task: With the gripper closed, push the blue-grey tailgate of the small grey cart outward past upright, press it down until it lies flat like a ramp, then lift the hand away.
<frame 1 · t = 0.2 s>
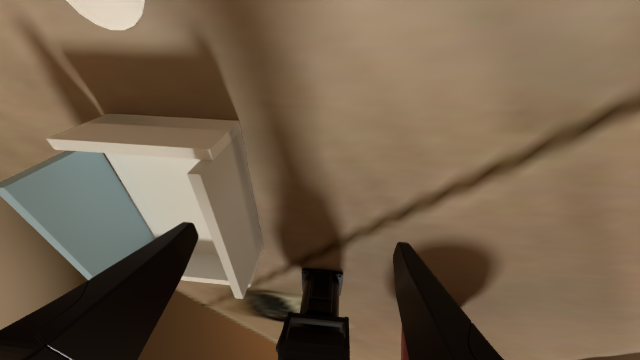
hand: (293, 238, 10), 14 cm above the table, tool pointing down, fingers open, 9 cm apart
tailgate: (99, 225, 24), point 6 cm above the table, hinge at 0.0°
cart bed: (200, 193, 29), on the table
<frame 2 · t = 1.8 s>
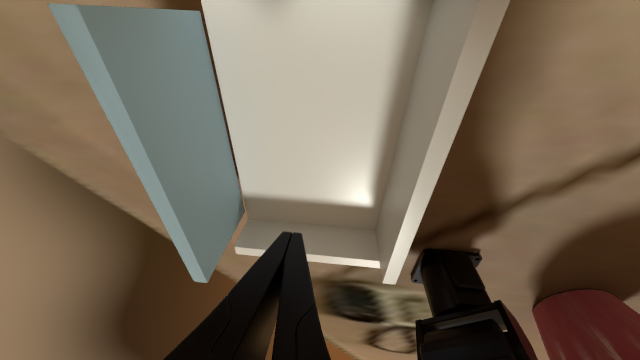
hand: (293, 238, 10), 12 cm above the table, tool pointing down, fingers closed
tailgate: (192, 160, 15), point 6 cm above the table, hinge at 0.0°
plant pot: (570, 304, 31), on the table
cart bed: (320, 130, 20), on the table
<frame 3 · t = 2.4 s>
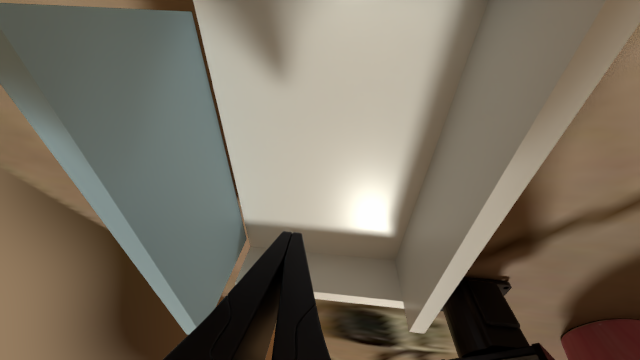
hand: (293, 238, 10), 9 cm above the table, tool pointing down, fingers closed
tailgate: (183, 193, 12), point 6 cm above the table, hinge at 0.0°
plant pot: (603, 333, 28), on the table
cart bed: (334, 149, 17), on the table
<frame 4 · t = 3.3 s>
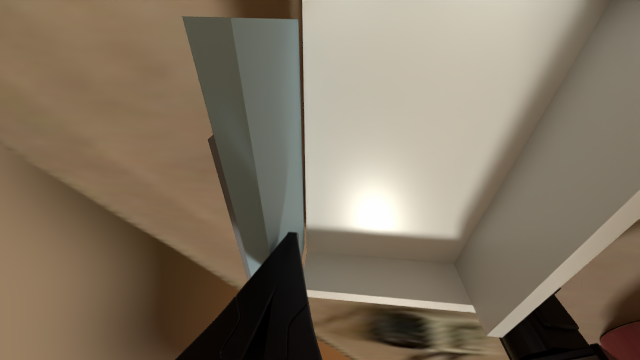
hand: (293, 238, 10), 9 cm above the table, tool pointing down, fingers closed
tailgate: (276, 201, 12), point 6 cm above the table, hinge at 1.1°, touching gripper
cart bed: (402, 154, 17), on the table
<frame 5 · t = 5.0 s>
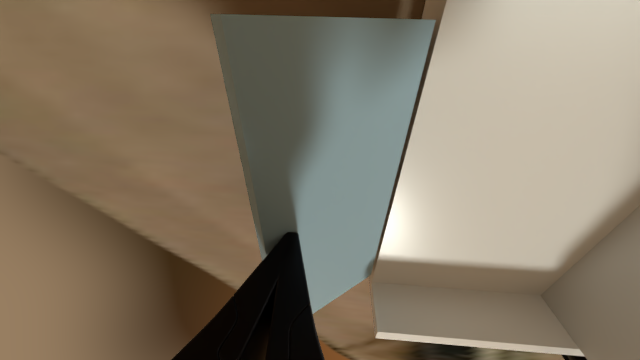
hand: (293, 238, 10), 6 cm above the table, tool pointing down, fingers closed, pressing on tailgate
tailgate: (329, 209, 12), point 4 cm above the table, hinge at 52.9°, touching gripper
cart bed: (497, 175, 15), on the table
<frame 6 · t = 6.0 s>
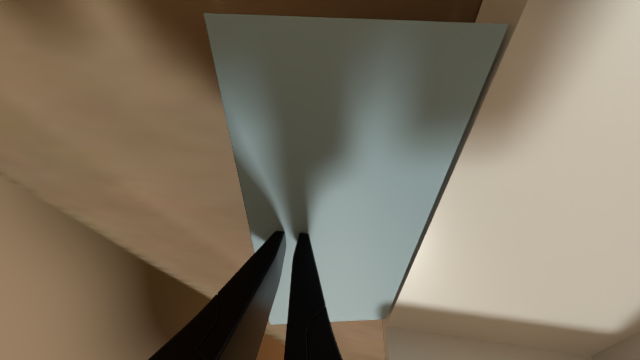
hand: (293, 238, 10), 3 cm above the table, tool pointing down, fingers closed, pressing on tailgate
tailgate: (335, 225, 11), point 2 cm above the table, hinge at 79.8°, touching gripper
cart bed: (549, 215, 12), on the table
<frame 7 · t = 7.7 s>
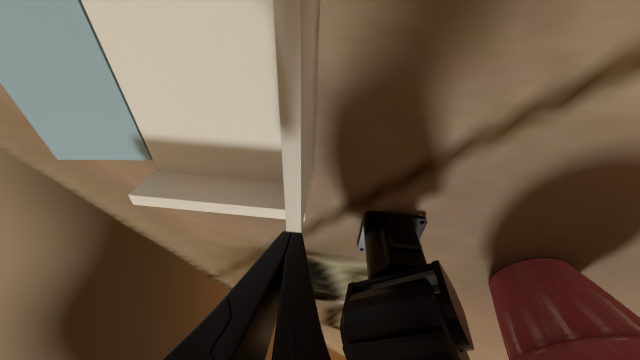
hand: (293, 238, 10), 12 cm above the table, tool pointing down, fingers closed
tailgate: (52, 52, 15), point 2 cm above the table, hinge at 81.4°
plant pot: (527, 277, 29), on the table
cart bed: (224, 58, 17), on the table
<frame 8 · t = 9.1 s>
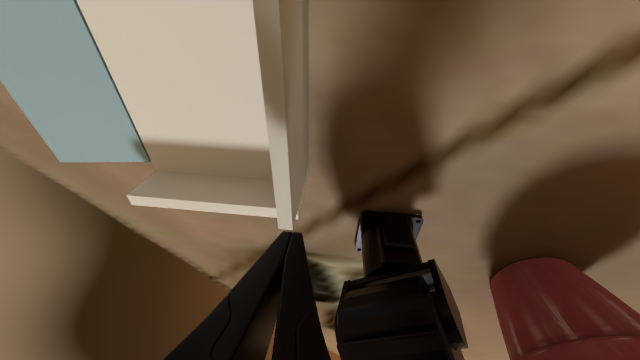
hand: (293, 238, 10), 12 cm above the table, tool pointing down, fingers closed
tailgate: (55, 59, 16), point 2 cm above the table, hinge at 81.4°
plant pot: (528, 277, 29), on the table
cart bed: (218, 61, 17), on the table
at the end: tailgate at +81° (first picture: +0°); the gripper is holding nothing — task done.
